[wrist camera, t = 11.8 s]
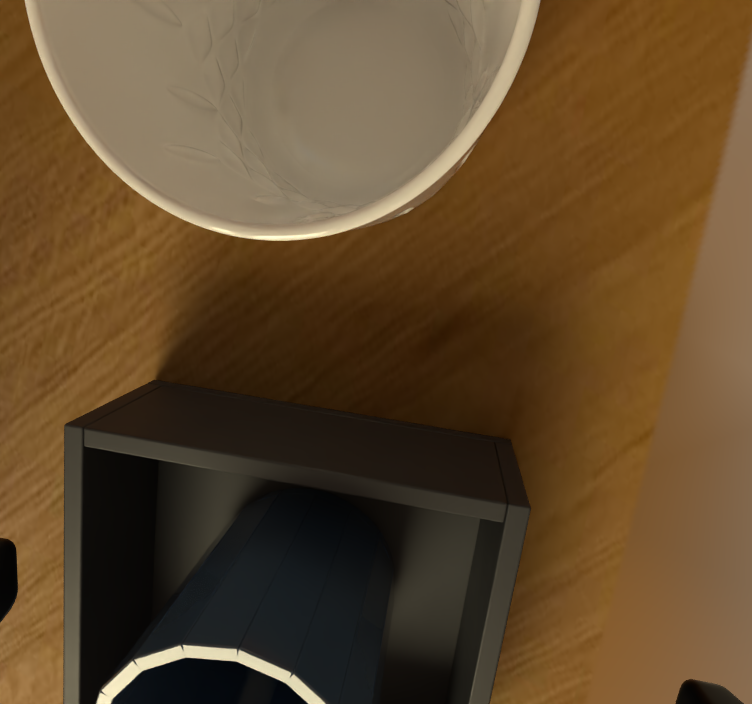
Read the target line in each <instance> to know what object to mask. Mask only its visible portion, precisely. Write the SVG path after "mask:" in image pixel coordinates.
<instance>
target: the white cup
mask: <svg viewBox="0 0 752 704" xmlns="http://www.w3.org/2000/svg"><path fill="white" fill-rule="evenodd" d="M540 1H541V0H25V5H26V10H27V14H28V19H29V23H30V27H31V30H32V34H33V38H34V41H35V44H36V47H37V50H38V53H39V56H40V59H41V61H42V64H43V66H44V69H45V71H46V74H47V76H48V78H49V80H50V83H51V85H52V87H53V89H54V91H55V93H56V95H57V97H58V99H59V100H60V102H61V104H62V106H63V108H64V109H65V111H66V113H67V114H68V116H69V117H70V119H71V121H72V122H73V124H74V125H75V127H76V128H77V130H78V131H79V132H80V134H81V135H82V136H83V138H84V139H85V140H86V142H87V143H88V144H89V145H90V147H91V148H92V149H93V150H94V152H95V153H96V154H97V155H98V156H99V157H100V158H101V159H102V161H103V162H104V163H105V164H106V165H107V166H108V167H109V168H110V169H111V170H112V171H113V172H114V173H115V174H116V175H118V176H119V177H120V178H121V179H122V180H123V181H124V182H125V183H127V184H128V185H129V186H130V187H131V188H133V189H134V190H135V191H137V192H138V193H139V194H141V195H142V196H143V197H145V198H146V199H148V200H149V201H151V202H152V203H154V204H155V205H157V206H159V207H160V208H162V209H164V210H166V211H167V212H169V213H171V214H173V215H175V216H177V217H179V218H181V219H183V220H185V221H188V222H190V223H192V224H195V225H197V226H200V227H203V228H206V229H209V230H212V231H215V232H219V233H222V234H226V235H231V236H236V237H241V238H248V239H256V240H270V241H290V240H303V239H312V238H318V237H324V236H328V235H333V234H337V233H341V232H345V231H349V230H355V229H360V228H364V227H369V226H373V225H376V224H379V223H383V222H386V221H388V220H391V219H394V218H396V217H398V216H400V215H403V214H405V213H408V212H409V211H410V210H412V209H414V208H415V207H417V206H419V205H420V204H422V203H423V202H425V201H426V200H427V199H429V198H430V197H431V196H433V195H434V194H435V193H436V192H437V191H438V190H439V189H440V188H441V187H442V186H443V185H444V184H445V183H446V182H447V181H448V180H449V179H450V178H451V177H452V176H453V175H454V174H455V173H456V172H457V171H458V170H459V168H460V167H461V166H462V164H463V163H464V162H465V161H466V159H467V158H468V156H469V155H470V153H471V152H472V150H473V149H474V147H475V146H476V144H477V142H478V141H479V139H480V137H481V135H482V134H483V132H484V130H485V129H486V127H487V125H488V124H489V122H490V121H491V119H492V118H493V116H494V115H495V113H496V111H497V110H498V108H499V107H500V105H501V103H502V101H503V100H504V98H505V96H506V94H507V92H508V91H509V89H510V87H511V85H512V83H513V81H514V79H515V76H516V74H517V72H518V70H519V67H520V65H521V63H522V60H523V58H524V55H525V53H526V50H527V47H528V44H529V41H530V38H531V35H532V32H533V29H534V25H535V22H536V18H537V14H538V10H539V6H540Z"/></svg>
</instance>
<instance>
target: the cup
mask: <svg viewBox="0 0 752 704" xmlns="http://www.w3.org/2000/svg"><path fill="white" fill-rule="evenodd" d="M394 590H395V567H394V562H393V558H392V554H391V552H390V549H389V547H388V544H387V542H386V541H385V539H384V537H383V535H382V534H381V532H380V531H379V529H378V528H377V527H376V525H375V524H374V523H373V522H372V521H371V520H370V519H369V518H368V517H367V516H366V515H365V514H364V513H363V512H362V511H360V510H359V509H358V508H357V507H355V506H354V505H352V504H351V503H349V502H347V501H346V500H343V499H341V498H339V497H337V496H335V495H332V494H329V493H327V492H323V491H319V490H314V489H305V488H289V489H282V490H277V491H273V492H270V493H267V494H264V495H262V496H260V497H258V498H256V499H254V500H253V501H251V502H249V503H248V504H247V505H245V506H244V507H243V508H242V509H241V510H240V511H239V512H238V513H237V514H236V515H235V516H234V517H233V519H232V520H231V521H230V522H229V523H228V524H227V525H226V526H225V527H224V528H223V529H222V531H221V532H220V533H219V535H218V536H217V537H216V539H215V540H214V541H213V543H212V544H211V545H210V546H209V548H208V549H207V550H206V552H205V553H204V554H203V556H202V557H201V558H200V560H199V561H198V562H197V563H196V565H195V566H194V567H193V569H192V570H191V571H190V573H189V574H188V575H187V577H186V578H185V579H184V580H183V582H182V583H181V584H180V586H179V587H178V588H177V590H176V591H175V592H174V593H173V595H172V596H171V597H170V599H169V600H168V601H167V603H166V604H165V605H164V607H163V608H162V609H161V610H160V612H159V613H158V614H157V616H156V617H155V618H154V620H153V621H152V622H151V624H150V625H149V626H148V627H147V629H146V630H145V631H144V633H143V634H142V635H141V637H140V638H139V639H138V640H137V642H136V643H135V644H134V646H133V647H132V648H131V650H130V651H129V652H128V654H127V655H126V656H125V657H124V659H123V660H122V661H121V663H120V664H119V665H118V667H117V668H116V669H115V671H114V672H113V673H112V674H111V676H110V677H109V678H108V680H107V681H106V682H105V684H104V685H103V686H102V688H101V689H100V691H99V694H98V697H97V700H96V704H379V701H380V694H381V687H382V681H383V674H384V667H385V660H386V654H387V647H388V640H389V634H390V627H391V620H392V613H393V607H394Z"/></svg>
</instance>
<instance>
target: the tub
mask: <svg viewBox="0 0 752 704" xmlns="http://www.w3.org/2000/svg"><path fill="white" fill-rule="evenodd" d="M289 488H305V489H314V490H319V491H323V492H327V493H329V494H332V495H335V496H337V497H339V498H341V499H343V500H346V501H347V502H349V503H351V504H352V505H354V506H355V507H357V508H358V509H359V510H360V511H362V512H363V513H364V514H365V515H366V516H367V517H368V518H369V519H370V520H371V521H372V522H373V523H374V524H375V525H376V527H377V528H378V529H379V531H380V532H381V534H382V535H383V537H384V539H385V541H386V542H387V544H388V547H389V549H390V552H391V554H392V558H393V562H394V567H395V590H394V607H393V613H392V620H391V627H390V634H389V640H388V647H387V654H386V660H385V667H384V674H383V681H382V687H381V694H380V701H379V704H490V699H491V694H492V690H493V685H494V680H495V676H496V671H497V666H498V661H499V657H500V652H501V647H502V643H503V638H504V633H505V628H506V624H507V619H508V614H509V610H510V605H511V600H512V595H513V591H514V586H515V581H516V577H517V572H518V567H519V562H520V558H521V553H522V548H523V544H524V539H525V534H526V529H527V525H528V520H529V515H530V511H531V507H530V504H529V500H528V497H527V494H526V490H525V487H524V484H523V480H522V477H521V474H520V470H519V467H518V464H517V460H516V457H515V454H514V450H513V447H512V443H511V440H510V439H505V438H499V437H493V436H487V435H481V434H475V433H469V432H463V431H457V430H451V429H445V428H439V427H433V426H427V425H421V424H415V423H409V422H403V421H397V420H391V419H385V418H379V417H373V416H367V415H362V414H356V413H350V412H344V411H338V410H332V409H326V408H320V407H314V406H308V405H302V404H296V403H290V402H284V401H278V400H272V399H266V398H260V397H254V396H248V395H242V394H236V393H230V392H224V391H219V390H213V389H207V388H201V387H195V386H189V385H183V384H177V383H171V382H165V381H159V380H153V381H151V382H149V383H148V384H145V385H143V386H141V387H139V388H137V389H135V390H133V391H131V392H129V393H127V394H125V395H123V396H121V397H119V398H117V399H115V400H113V401H111V402H109V403H107V404H105V405H103V406H101V407H99V408H97V409H95V410H93V411H91V412H89V413H87V414H85V415H83V416H81V417H79V418H77V419H75V420H73V421H71V422H68V423H66V424H65V426H64V688H63V704H96V700H97V697H98V694H99V691H100V689H101V688H102V686H103V685H104V684H105V682H106V681H107V680H108V678H109V677H110V676H111V674H112V673H113V672H114V671H115V669H116V668H117V667H118V665H119V664H120V663H121V661H122V660H123V659H124V657H125V656H126V655H127V654H128V652H129V651H130V650H131V648H132V647H133V646H134V644H135V643H136V642H137V640H138V639H139V638H140V637H141V635H142V634H143V633H144V631H145V630H146V629H147V627H148V626H149V625H150V624H151V622H152V621H153V620H154V618H155V617H156V616H157V614H158V613H159V612H160V610H161V609H162V608H163V607H164V605H165V604H166V603H167V601H168V600H169V599H170V597H171V596H172V595H173V593H174V592H175V591H176V590H177V588H178V587H179V586H180V584H181V583H182V582H183V580H184V579H185V578H186V577H187V575H188V574H189V573H190V571H191V570H192V569H193V567H194V566H195V565H196V563H197V562H198V561H199V560H200V558H201V557H202V556H203V554H204V553H205V552H206V550H207V549H208V548H209V546H210V545H211V544H212V543H213V541H214V540H215V539H216V537H217V536H218V535H219V533H220V532H221V531H222V529H223V528H224V527H225V526H226V525H227V524H228V523H229V522H230V521H231V520H232V519H233V517H234V516H235V515H236V514H237V513H238V512H239V511H240V510H241V509H242V508H243V507H244V506H245V505H247V504H248V503H249V502H251V501H253V500H254V499H256V498H258V497H260V496H262V495H264V494H267V493H270V492H273V491H277V490H282V489H289Z"/></svg>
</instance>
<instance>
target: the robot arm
mask: <svg viewBox="0 0 752 704" xmlns="http://www.w3.org/2000/svg"><path fill="white" fill-rule="evenodd" d="M17 592H18V580H17V556H16V547H15V545H14V543H13V542H12V541H10V540H8V539H4V538H0V622H1V621H2V620H3V618H4V617H5V616H6V615H7V613H8V612H9V611H10V609H11V608H12V606H13V604H14V602H15V599H16V597H17ZM676 704H743V703H742V702H741V701H740V700H739V699H738V698H736V697H735V696H734V695H733V694H732V693H731V692H730V691H728V690H727V689H726V688H724V687H723V686H720V685H717V684H713V683H708V682H703V681H698V680H693V679H689V680H686V681H685V682H684V683H683V684H682V685H681V688H680V690H679V694H678V697H677V700H676Z"/></svg>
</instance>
